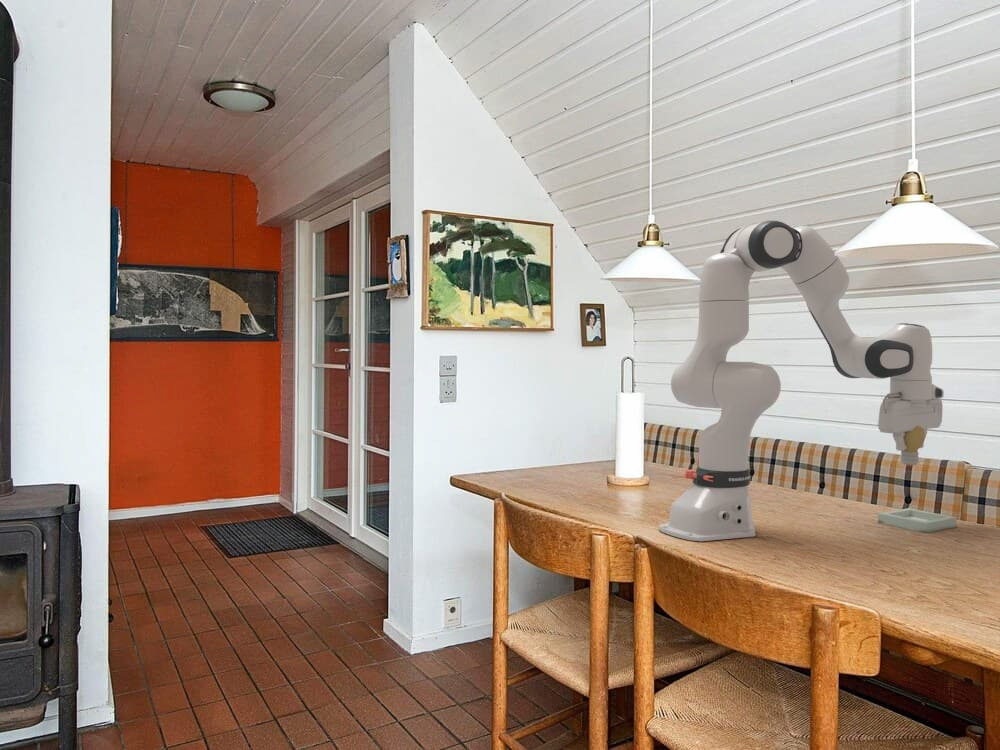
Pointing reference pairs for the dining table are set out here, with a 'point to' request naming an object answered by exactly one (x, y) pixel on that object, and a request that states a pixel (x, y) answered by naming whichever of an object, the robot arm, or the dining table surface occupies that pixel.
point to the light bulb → (912, 445)
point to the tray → (917, 520)
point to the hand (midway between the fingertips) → (909, 449)
